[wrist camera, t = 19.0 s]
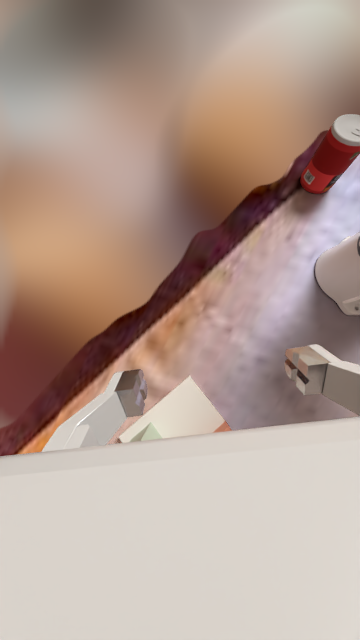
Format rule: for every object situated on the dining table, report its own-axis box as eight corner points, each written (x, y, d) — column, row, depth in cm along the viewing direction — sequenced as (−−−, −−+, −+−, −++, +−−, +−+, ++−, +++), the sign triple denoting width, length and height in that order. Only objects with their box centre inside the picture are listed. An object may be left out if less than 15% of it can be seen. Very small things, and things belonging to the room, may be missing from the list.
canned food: (325, 199, 44) (371, 146, 33) (294, 188, 45) (328, 134, 34) (334, 176, 45) (380, 120, 35) (303, 167, 46) (339, 109, 36)
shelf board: (189, 375, 35) (189, 377, 32) (226, 422, 33) (232, 431, 29) (121, 433, 34) (113, 443, 30) (156, 488, 31) (152, 506, 27)
